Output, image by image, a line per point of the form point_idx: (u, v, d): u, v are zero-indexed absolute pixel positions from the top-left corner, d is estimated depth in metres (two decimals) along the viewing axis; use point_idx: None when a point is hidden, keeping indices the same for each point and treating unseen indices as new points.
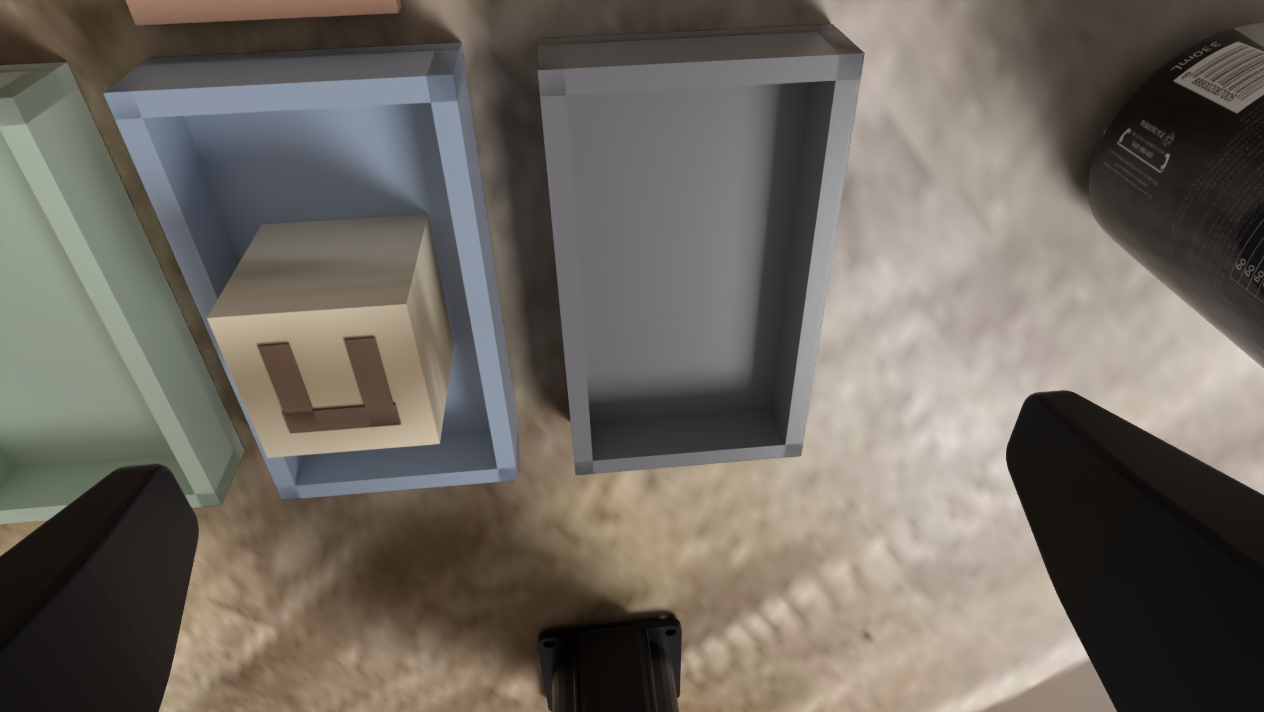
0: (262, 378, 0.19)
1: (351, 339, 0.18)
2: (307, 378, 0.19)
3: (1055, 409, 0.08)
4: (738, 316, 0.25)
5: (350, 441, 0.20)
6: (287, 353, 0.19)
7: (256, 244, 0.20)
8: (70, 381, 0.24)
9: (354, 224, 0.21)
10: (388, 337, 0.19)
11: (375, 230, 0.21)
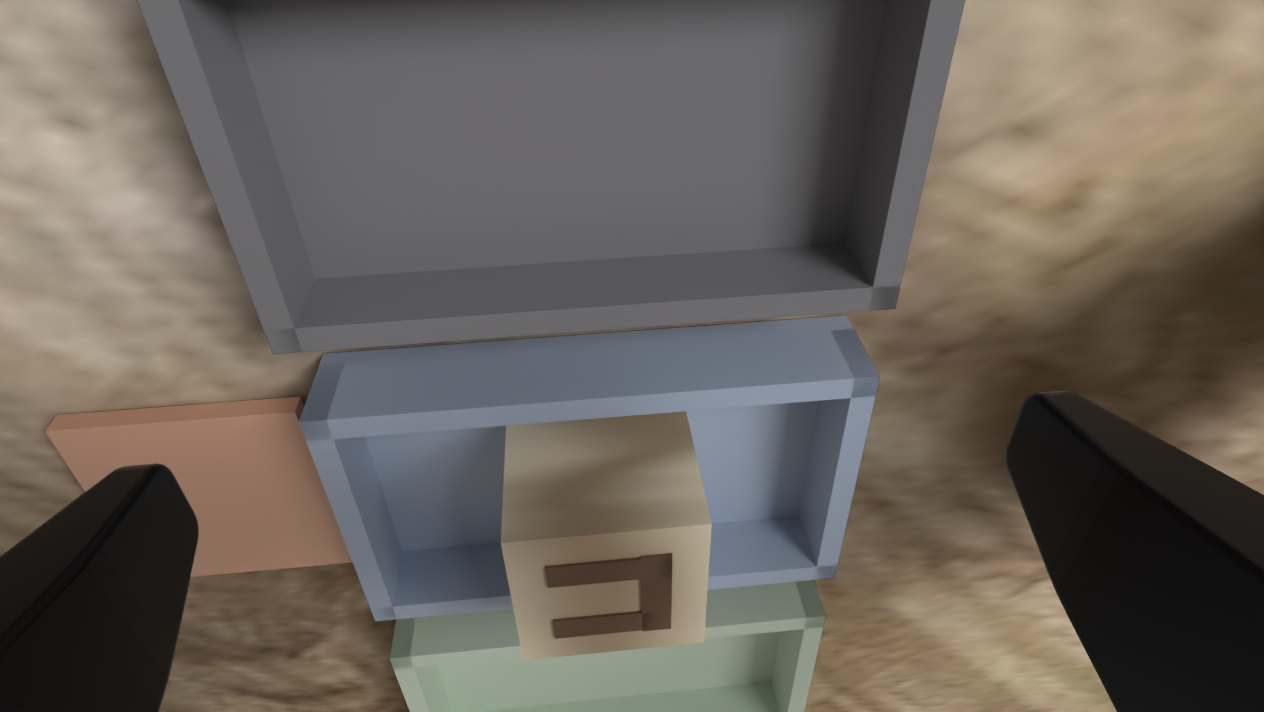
0: (596, 638, 0.19)
1: (549, 581, 0.17)
2: (599, 611, 0.18)
3: (1055, 409, 0.08)
4: (677, 26, 0.15)
5: (693, 589, 0.18)
6: (568, 620, 0.18)
7: None
8: None
9: None
10: (546, 556, 0.17)
11: None
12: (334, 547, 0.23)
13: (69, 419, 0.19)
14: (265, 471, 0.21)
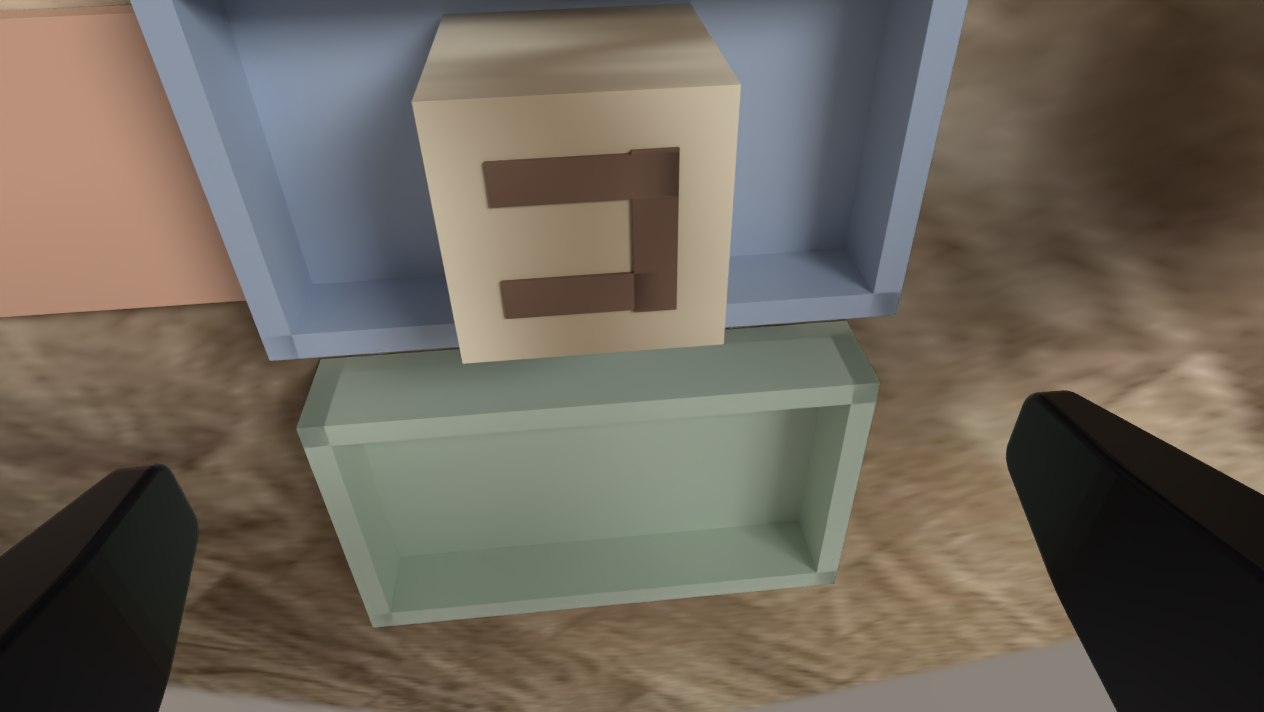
0: (567, 323, 0.13)
1: (492, 197, 0.11)
2: (570, 268, 0.12)
3: (1055, 409, 0.08)
4: None
5: (710, 232, 0.12)
6: (524, 286, 0.12)
7: None
8: (691, 454, 0.21)
9: None
10: (486, 140, 0.11)
11: None
12: (219, 272, 0.17)
13: None
14: (106, 127, 0.15)
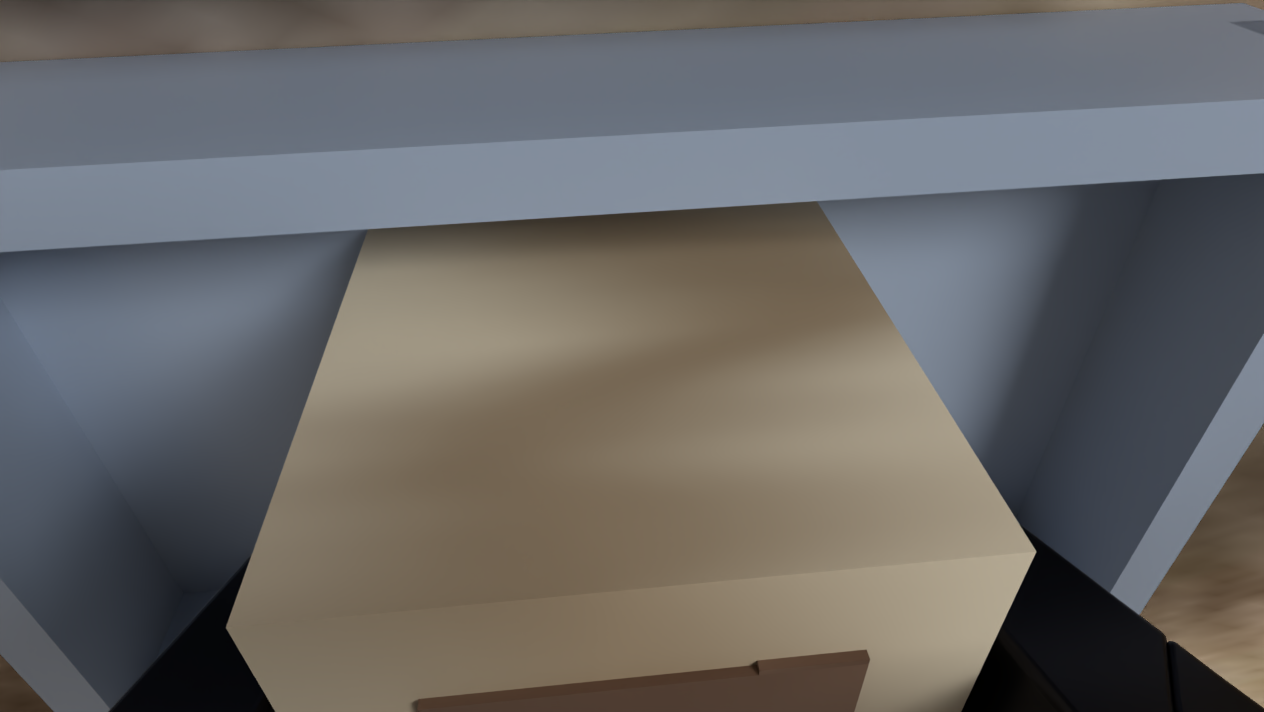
0: None
1: None
2: None
3: None
4: None
5: None
6: None
7: None
8: None
9: None
10: (421, 670, 0.05)
11: None
12: None
13: None
14: None
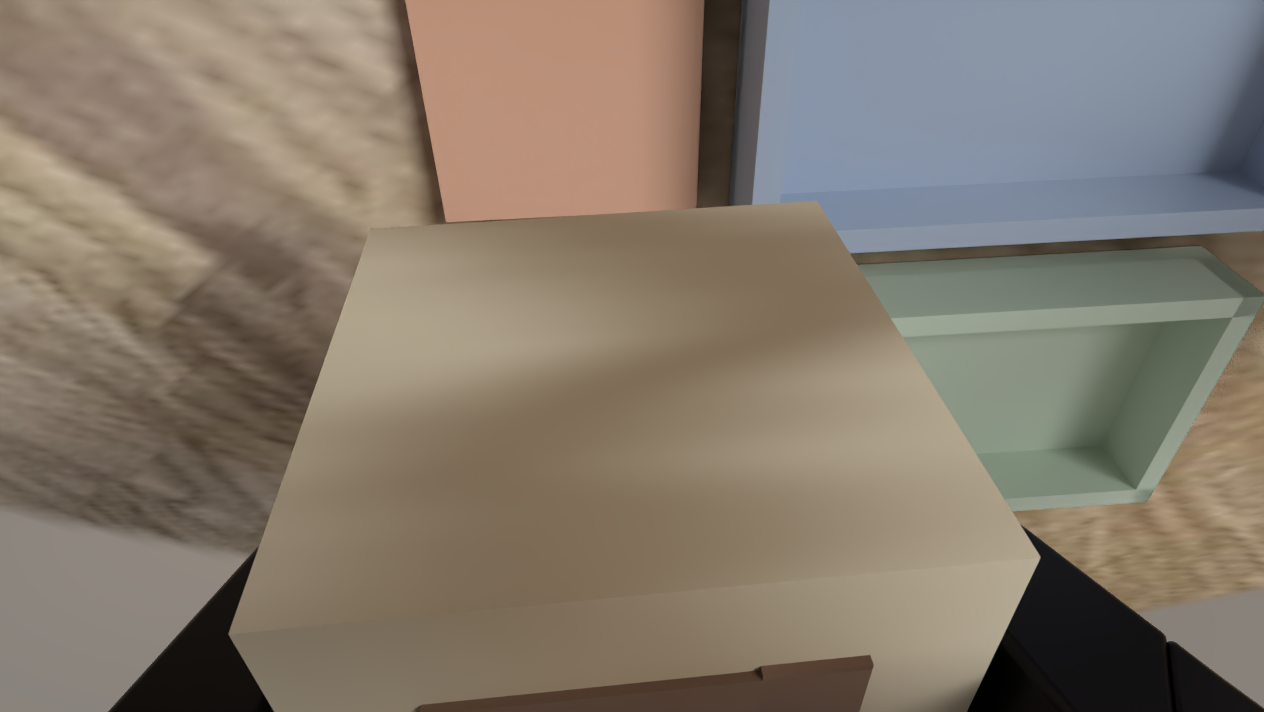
0: None
1: None
2: None
3: None
4: None
5: None
6: None
7: None
8: (1029, 374, 0.23)
9: None
10: (423, 676, 0.05)
11: None
12: (682, 181, 0.18)
13: None
14: (640, 39, 0.16)
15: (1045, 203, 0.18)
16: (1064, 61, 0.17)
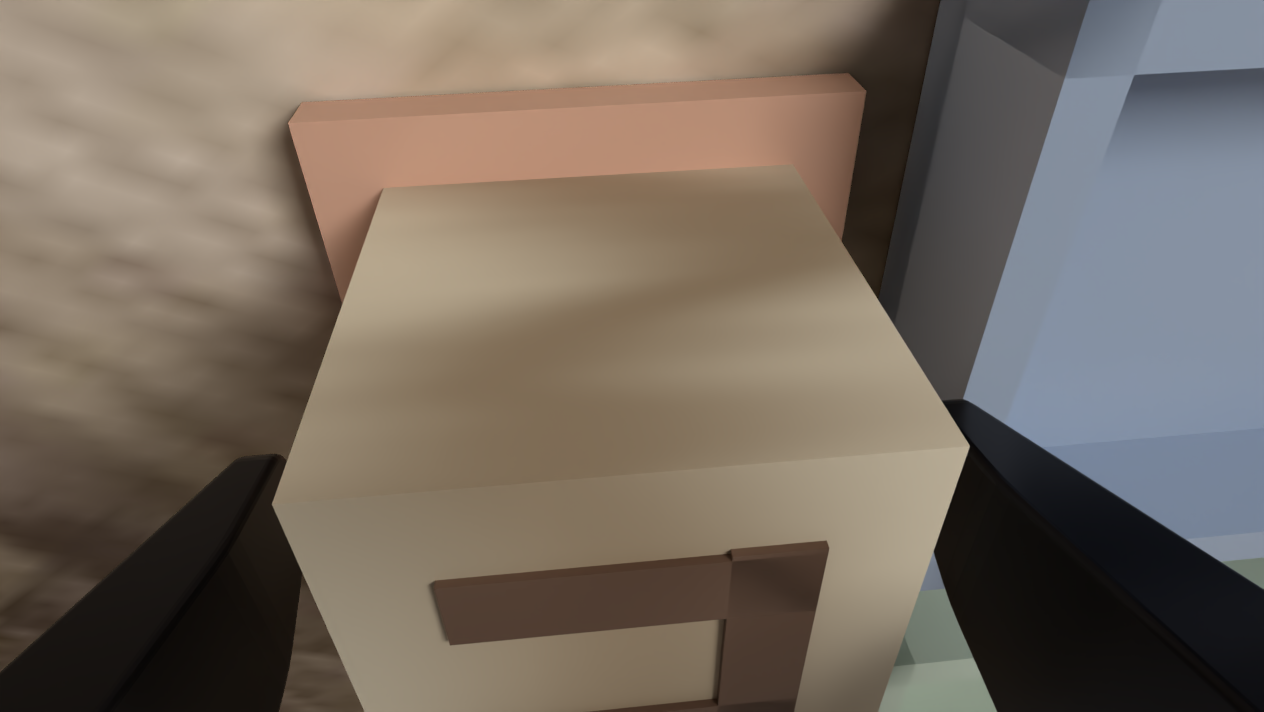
0: None
1: (453, 625, 0.06)
2: (601, 702, 0.07)
3: None
4: None
5: (863, 645, 0.07)
6: None
7: None
8: None
9: None
10: (437, 550, 0.05)
11: None
12: None
13: (334, 106, 0.08)
14: None
15: None
16: None
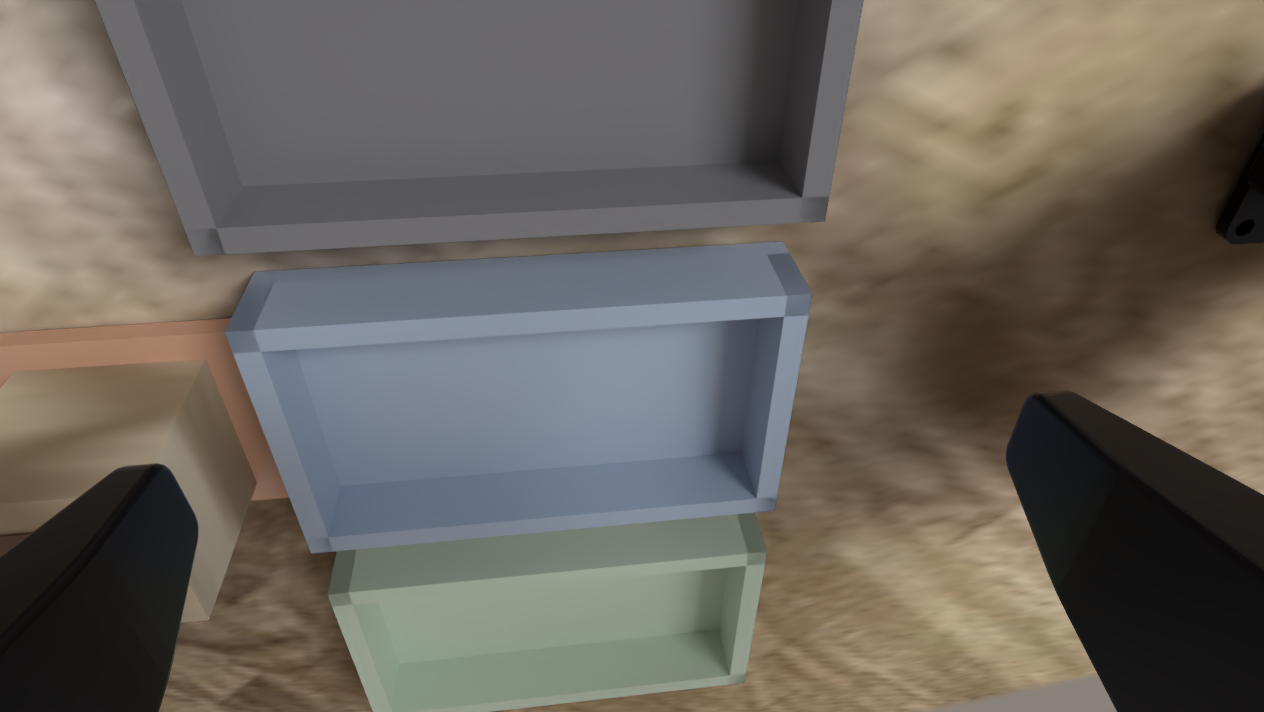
0: None
1: None
2: None
3: (1055, 409, 0.08)
4: None
5: None
6: None
7: None
8: (631, 586, 0.27)
9: None
10: None
11: None
12: (270, 481, 0.22)
13: None
14: None
15: (565, 495, 0.23)
16: (560, 394, 0.22)
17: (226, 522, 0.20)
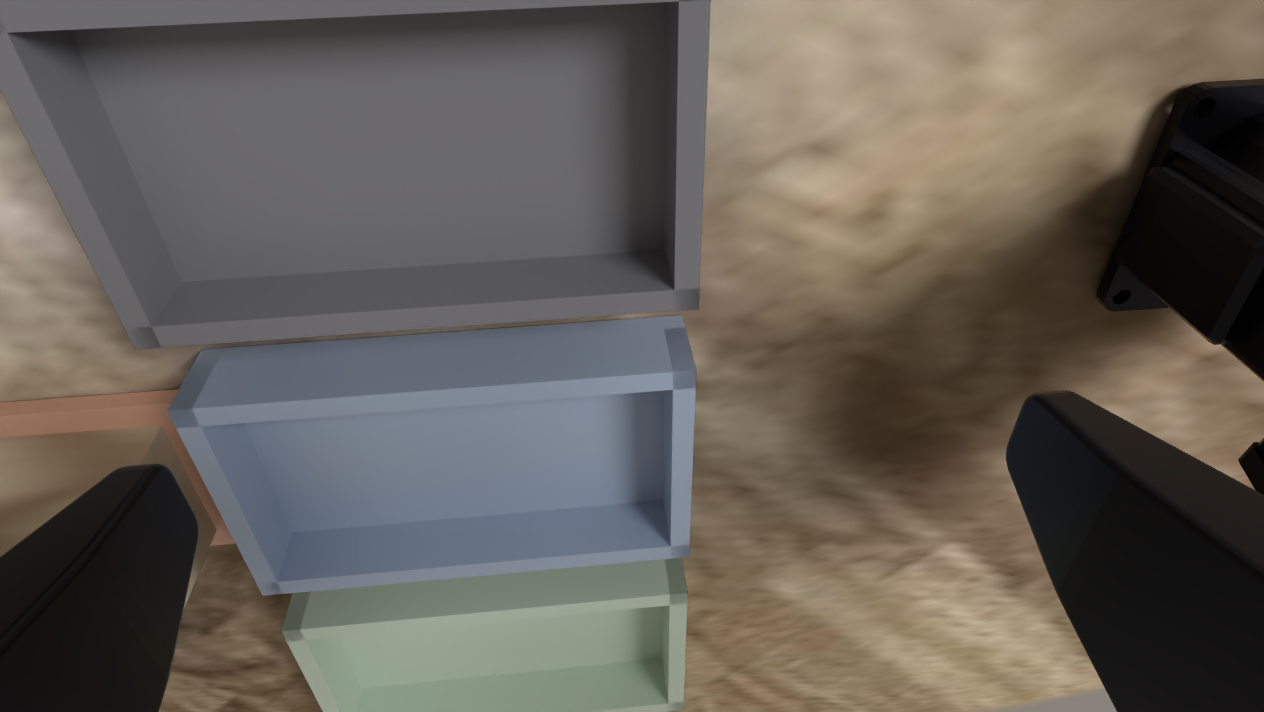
0: None
1: None
2: None
3: (1055, 409, 0.08)
4: (480, 59, 0.17)
5: None
6: None
7: None
8: (573, 620, 0.29)
9: None
10: None
11: None
12: None
13: None
14: None
15: (494, 542, 0.25)
16: (486, 451, 0.24)
17: None
